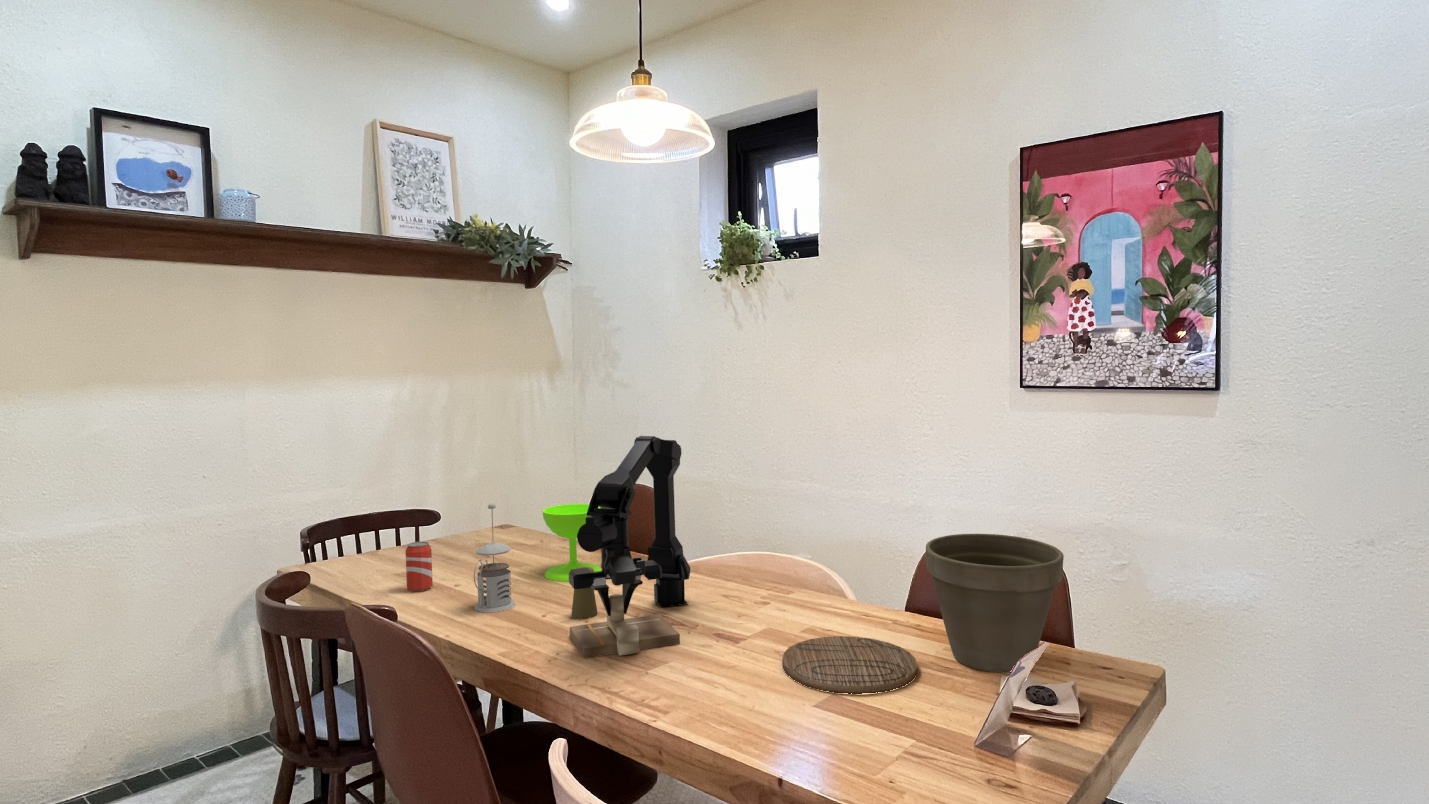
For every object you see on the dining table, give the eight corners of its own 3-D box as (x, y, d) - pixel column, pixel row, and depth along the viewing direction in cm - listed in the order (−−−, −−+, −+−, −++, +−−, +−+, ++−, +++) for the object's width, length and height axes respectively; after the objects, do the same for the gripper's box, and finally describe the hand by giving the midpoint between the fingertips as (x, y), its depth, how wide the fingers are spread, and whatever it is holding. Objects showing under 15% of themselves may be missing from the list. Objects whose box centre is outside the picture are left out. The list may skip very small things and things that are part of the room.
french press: (524, 601, 193) (520, 500, 192) (496, 616, 182) (492, 509, 181) (489, 598, 196) (486, 499, 195) (460, 612, 185) (456, 507, 184)
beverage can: (436, 585, 208) (434, 541, 208) (425, 592, 202) (423, 546, 201) (414, 585, 209) (412, 540, 208) (402, 592, 203) (401, 546, 202)
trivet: (779, 645, 161) (779, 636, 161) (901, 644, 160) (901, 635, 160) (786, 697, 136) (786, 686, 136) (931, 696, 135) (931, 686, 135)
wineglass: (614, 570, 221) (612, 506, 220) (575, 584, 207) (573, 516, 206) (572, 563, 229) (570, 502, 228) (531, 576, 216) (529, 511, 215)
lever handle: (621, 631, 169) (620, 590, 168) (639, 652, 157) (638, 607, 156) (603, 634, 167) (602, 592, 167) (619, 655, 155) (618, 610, 155)
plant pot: (1068, 693, 135) (1068, 568, 134) (920, 676, 143) (919, 558, 142) (1058, 643, 158) (1059, 537, 157) (931, 631, 167) (931, 530, 166)
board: (659, 622, 175) (659, 613, 175) (679, 643, 162) (679, 633, 162) (569, 635, 168) (569, 626, 168) (583, 658, 155) (583, 648, 155)
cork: (592, 619, 179) (591, 571, 178) (567, 618, 180) (565, 570, 179) (601, 611, 184) (600, 564, 184) (577, 609, 186) (575, 563, 185)
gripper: (578, 554, 152) (580, 633, 153) (669, 544, 159) (671, 619, 160) (567, 542, 163) (569, 616, 164) (653, 533, 170) (654, 604, 171)
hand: (616, 614), depth 164 cm, fingers closed on lever handle, 3 cm apart
